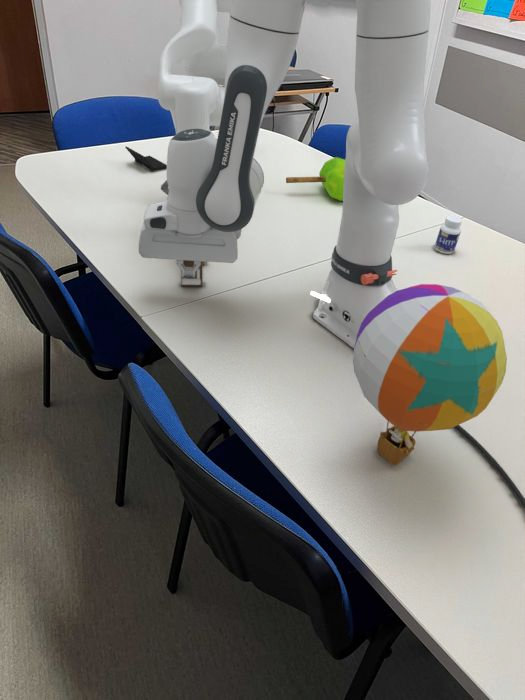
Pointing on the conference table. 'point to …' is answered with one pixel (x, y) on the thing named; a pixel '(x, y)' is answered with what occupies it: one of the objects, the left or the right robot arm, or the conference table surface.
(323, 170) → the decorative tree
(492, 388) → the toy
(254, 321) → the conference table surface
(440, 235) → the pill bottle
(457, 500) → the conference table surface
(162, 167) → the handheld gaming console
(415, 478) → the conference table surface
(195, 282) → the drawer
